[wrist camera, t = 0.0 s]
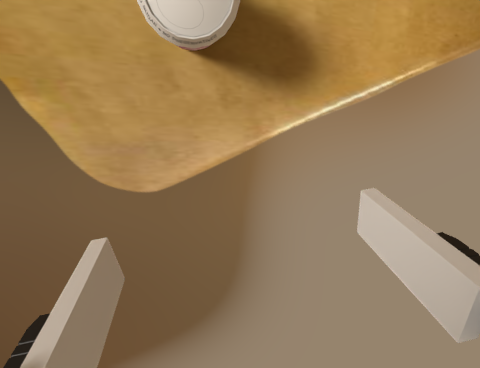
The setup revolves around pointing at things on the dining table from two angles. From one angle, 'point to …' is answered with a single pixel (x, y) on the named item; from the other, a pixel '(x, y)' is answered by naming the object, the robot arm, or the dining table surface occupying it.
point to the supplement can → (190, 20)
